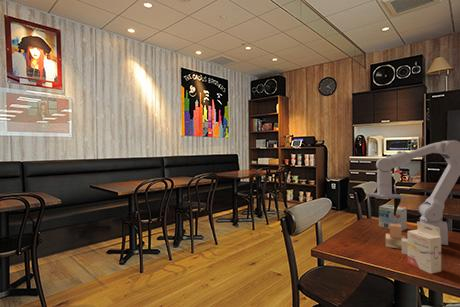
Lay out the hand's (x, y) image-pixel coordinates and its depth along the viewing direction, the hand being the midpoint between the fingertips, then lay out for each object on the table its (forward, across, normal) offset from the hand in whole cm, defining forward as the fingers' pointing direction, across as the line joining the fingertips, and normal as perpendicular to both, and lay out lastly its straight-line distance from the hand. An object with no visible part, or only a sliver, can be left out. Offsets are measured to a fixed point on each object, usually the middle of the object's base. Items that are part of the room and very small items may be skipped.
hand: (384, 214), depth 121 cm
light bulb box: (+11, +3, +17) cm, 20 cm away
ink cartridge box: (+11, +12, -29) cm, 33 cm away
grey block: (+10, +8, -17) cm, 22 cm away
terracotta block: (+7, +4, -10) cm, 13 cm away
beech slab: (+10, +4, -10) cm, 15 cm away
